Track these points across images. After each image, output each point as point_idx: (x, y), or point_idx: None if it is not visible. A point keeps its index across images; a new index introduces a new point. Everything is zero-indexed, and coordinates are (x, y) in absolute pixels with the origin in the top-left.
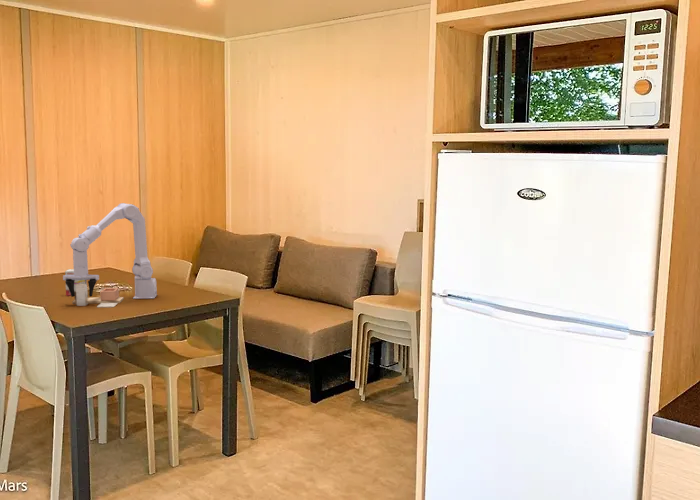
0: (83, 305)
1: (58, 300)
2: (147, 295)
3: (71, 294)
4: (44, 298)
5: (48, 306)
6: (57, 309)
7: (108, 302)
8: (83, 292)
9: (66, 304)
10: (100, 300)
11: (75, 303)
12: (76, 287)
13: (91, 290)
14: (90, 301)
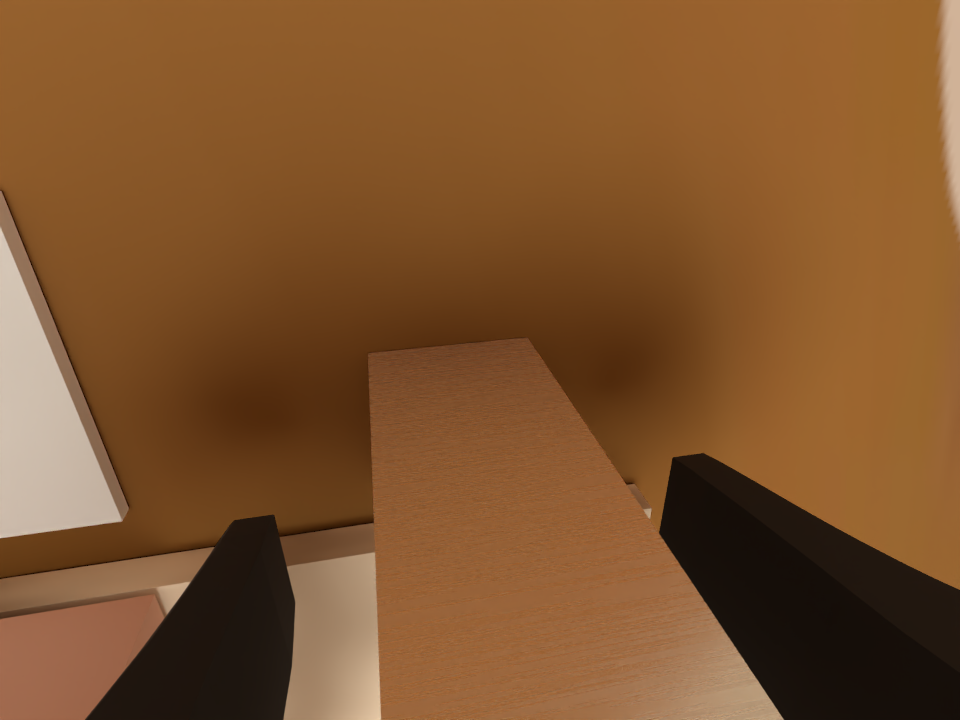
0: (407, 353)
1: None
2: None
3: (741, 480)
4: None
5: (955, 288)
6: (835, 4)
7: (10, 585)
8: (422, 549)
9: (711, 432)
10: None
11: None
12: (733, 674)
13: (120, 677)
14: (354, 551)
